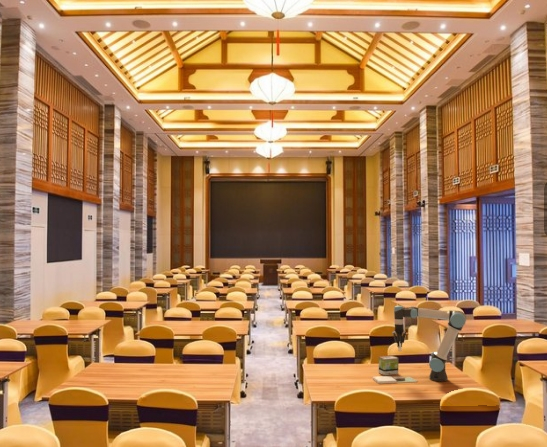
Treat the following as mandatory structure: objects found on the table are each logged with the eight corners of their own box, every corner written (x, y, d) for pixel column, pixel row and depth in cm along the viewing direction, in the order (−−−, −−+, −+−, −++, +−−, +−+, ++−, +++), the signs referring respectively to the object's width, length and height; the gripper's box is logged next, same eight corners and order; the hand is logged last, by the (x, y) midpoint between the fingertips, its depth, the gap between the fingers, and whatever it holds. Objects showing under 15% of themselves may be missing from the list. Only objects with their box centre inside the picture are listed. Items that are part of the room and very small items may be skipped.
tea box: (384, 375, 432) (384, 359, 433) (378, 373, 441) (378, 356, 442) (398, 374, 438) (398, 357, 438) (392, 371, 447) (392, 355, 448)
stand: (390, 378, 424) (390, 376, 424) (396, 382, 410) (396, 380, 410) (372, 379, 421) (372, 376, 421) (378, 383, 408) (378, 381, 408)
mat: (410, 377, 427) (410, 377, 427) (417, 381, 413) (417, 381, 413) (391, 378, 424) (391, 377, 424) (397, 382, 410) (397, 382, 410)
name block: (402, 378, 422) (402, 376, 422) (405, 380, 416) (405, 378, 416) (392, 379, 420) (392, 376, 420) (395, 381, 414) (395, 378, 414)
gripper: (403, 322, 429) (404, 349, 428) (390, 323, 427) (391, 350, 425) (407, 324, 422) (408, 351, 421) (394, 324, 419) (394, 352, 418)
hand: (399, 350), depth 423 cm, fingers closed
